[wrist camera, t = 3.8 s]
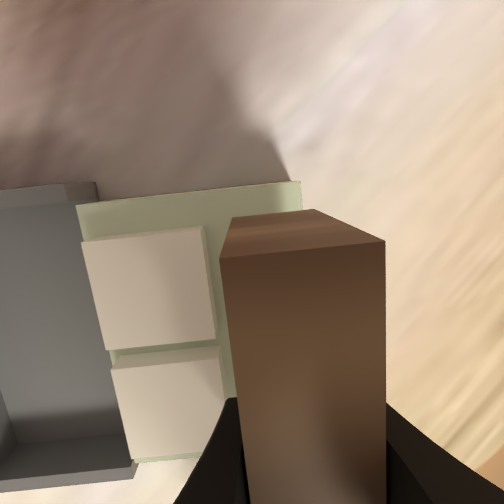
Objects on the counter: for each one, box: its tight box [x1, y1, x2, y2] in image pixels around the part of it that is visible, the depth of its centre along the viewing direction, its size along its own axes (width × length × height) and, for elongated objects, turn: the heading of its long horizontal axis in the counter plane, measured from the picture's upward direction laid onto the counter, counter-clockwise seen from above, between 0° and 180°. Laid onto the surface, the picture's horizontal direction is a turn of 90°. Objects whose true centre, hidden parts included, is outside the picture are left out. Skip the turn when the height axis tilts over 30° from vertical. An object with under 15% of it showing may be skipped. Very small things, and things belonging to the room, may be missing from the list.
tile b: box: [81, 226, 218, 350], centre depth 14 cm, size 5×5×1 cm
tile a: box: [110, 345, 228, 459], centre depth 16 cm, size 5×5×1 cm
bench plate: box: [75, 181, 302, 463], centre depth 17 cm, size 14×10×3 cm
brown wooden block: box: [219, 209, 386, 504], centre depth 10 cm, size 12×3×6 cm, turn 6°
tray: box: [0, 182, 139, 493], centre depth 17 cm, size 16×9×3 cm, turn 6°
